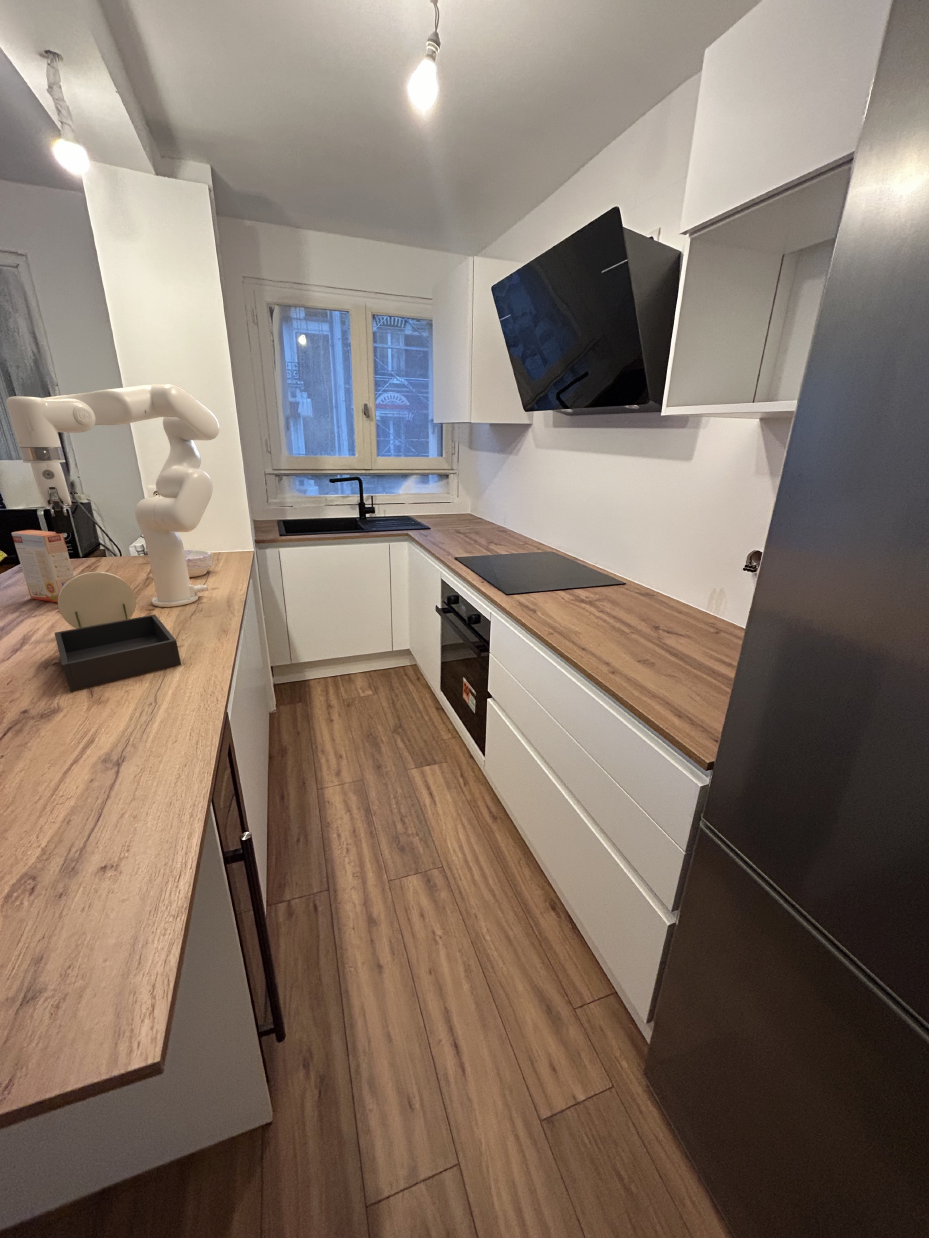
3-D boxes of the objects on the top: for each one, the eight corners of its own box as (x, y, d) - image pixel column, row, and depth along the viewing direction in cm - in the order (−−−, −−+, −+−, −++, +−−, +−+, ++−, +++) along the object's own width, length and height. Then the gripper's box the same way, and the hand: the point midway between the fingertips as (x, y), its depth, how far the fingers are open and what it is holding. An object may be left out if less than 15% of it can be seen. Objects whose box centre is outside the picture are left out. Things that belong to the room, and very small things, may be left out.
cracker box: (81, 598, 152) (63, 532, 145) (61, 604, 147) (41, 535, 139) (51, 593, 156) (32, 528, 149) (30, 598, 151) (9, 531, 144)
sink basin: (159, 636, 125) (155, 614, 123) (181, 664, 110) (176, 640, 107) (61, 656, 112) (54, 632, 110) (70, 692, 97) (62, 665, 95)
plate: (141, 623, 132) (127, 567, 127) (142, 625, 132) (128, 568, 126) (67, 638, 123) (49, 577, 117) (68, 639, 122) (49, 578, 116)
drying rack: (139, 620, 135) (133, 596, 132) (144, 628, 129) (138, 604, 127) (66, 634, 125) (59, 608, 122) (69, 643, 119) (61, 617, 117)
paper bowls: (201, 580, 173) (197, 558, 171) (159, 579, 174) (154, 557, 171) (221, 569, 188) (218, 549, 185) (182, 569, 188) (179, 548, 185)
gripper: (65, 457, 107) (85, 533, 114) (61, 454, 120) (80, 523, 126) (20, 457, 103) (44, 537, 109) (21, 454, 115) (43, 526, 121)
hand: (63, 529), depth 117 cm, fingers open, 9 cm apart
